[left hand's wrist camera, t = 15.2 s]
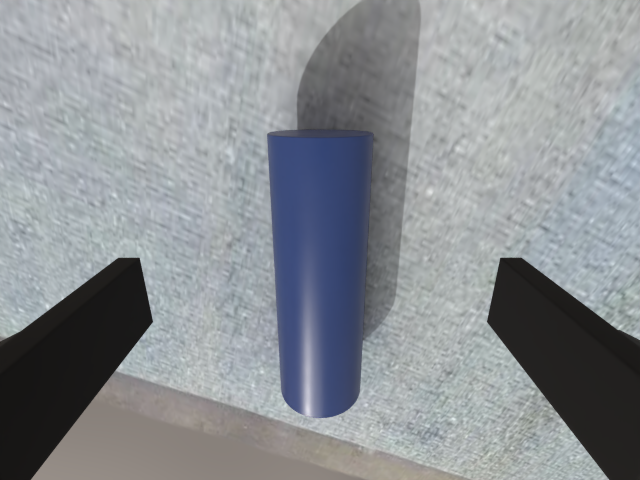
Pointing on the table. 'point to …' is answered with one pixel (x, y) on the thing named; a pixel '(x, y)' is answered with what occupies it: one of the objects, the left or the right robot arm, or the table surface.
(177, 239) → the table surface
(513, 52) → the table surface
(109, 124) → the table surface
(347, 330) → the rod
